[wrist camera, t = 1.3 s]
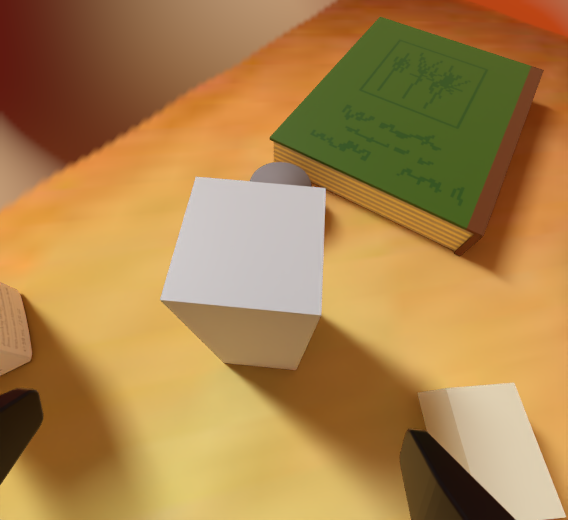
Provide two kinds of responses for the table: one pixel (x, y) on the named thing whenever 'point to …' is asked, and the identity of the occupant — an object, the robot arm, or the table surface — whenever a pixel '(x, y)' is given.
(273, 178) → the grey rounded dome
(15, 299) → the skincare box
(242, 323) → the light grey block
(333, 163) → the hardcover book
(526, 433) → the cream block
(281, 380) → the table surface
